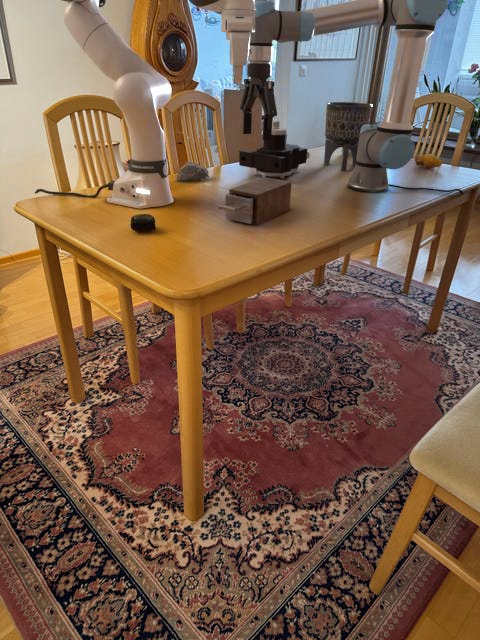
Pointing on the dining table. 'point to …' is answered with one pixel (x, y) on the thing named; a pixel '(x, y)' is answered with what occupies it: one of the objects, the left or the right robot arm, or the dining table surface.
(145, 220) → the tape measure
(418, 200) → the dining table surface
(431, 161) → the toy
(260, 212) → the cabinet
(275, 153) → the mechanical component
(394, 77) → the right robot arm
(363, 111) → the planter
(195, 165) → the rock
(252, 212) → the drawer
